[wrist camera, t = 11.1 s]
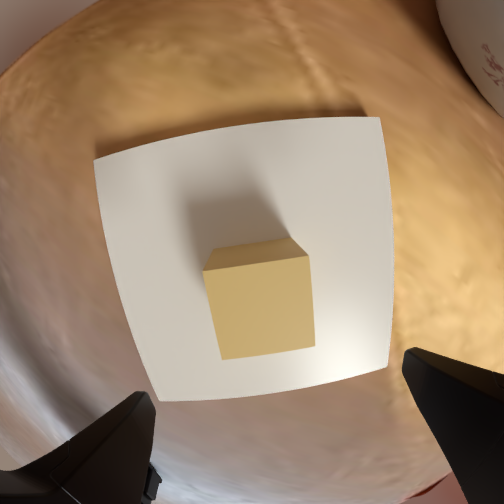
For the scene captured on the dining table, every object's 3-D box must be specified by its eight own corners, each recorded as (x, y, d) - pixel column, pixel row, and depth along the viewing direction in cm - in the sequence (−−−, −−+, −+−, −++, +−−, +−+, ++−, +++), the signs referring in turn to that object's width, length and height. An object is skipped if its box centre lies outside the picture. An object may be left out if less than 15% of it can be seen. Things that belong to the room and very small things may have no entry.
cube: (226, 319, 19) (222, 360, 14) (213, 248, 18) (202, 271, 13) (298, 308, 19) (315, 346, 14) (291, 237, 18) (309, 255, 13)
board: (163, 390, 22) (159, 401, 20) (103, 161, 17) (93, 160, 16) (380, 357, 22) (387, 366, 20) (370, 121, 17) (379, 117, 16)
